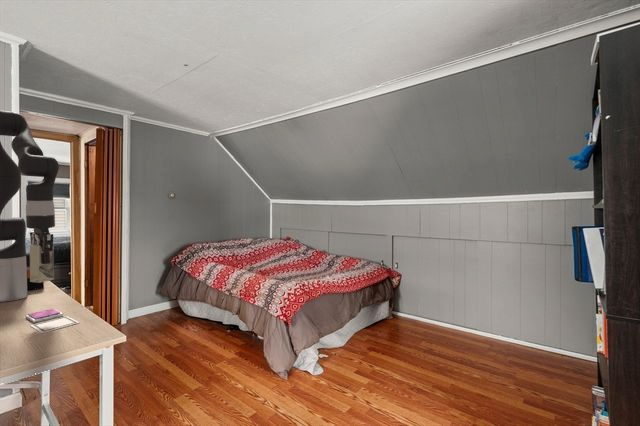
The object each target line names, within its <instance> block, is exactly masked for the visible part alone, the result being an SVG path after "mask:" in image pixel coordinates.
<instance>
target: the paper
mask: <svg viewBox="0 0 640 426" xmlns="http://www.w3.org/2000/svg"><path fill="white" fill-rule="evenodd" d="M77 324H80V321H78V320H76V319H73V318H72V317H71V316H70V317H69V315H65V316H61V317H58V318H54V319H50V320H46V321H42V322H38V323H33V324H31V325H30V327H31V328H32V329H34V330H35V331H38V332H39V333H40V334H46V333H50V332H53V331H55V330H56V331H57V330H60V329H64V328H66V327H70V326H74V325H77Z"/></svg>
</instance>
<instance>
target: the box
mask: <svg viewBox="0 0 640 426" xmlns="http://www.w3.org/2000/svg"><path fill="white" fill-rule="evenodd" d="M46 248H47V246H46ZM54 250H55V244H54V243H53V251H51V252H49V253H50V263H48V264H42V263H41V252H40V247H38V245H37V244H34V245H31V244H30V245H29V253H30V282H38V283H41V282H44V283H45V282H48V281H52V280H55V251H54Z"/></svg>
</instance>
